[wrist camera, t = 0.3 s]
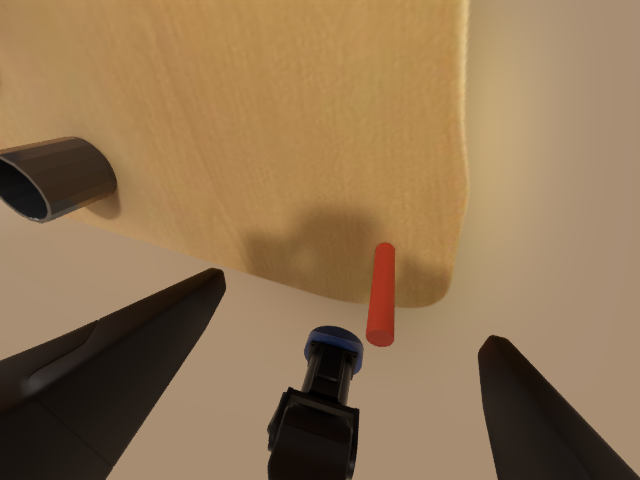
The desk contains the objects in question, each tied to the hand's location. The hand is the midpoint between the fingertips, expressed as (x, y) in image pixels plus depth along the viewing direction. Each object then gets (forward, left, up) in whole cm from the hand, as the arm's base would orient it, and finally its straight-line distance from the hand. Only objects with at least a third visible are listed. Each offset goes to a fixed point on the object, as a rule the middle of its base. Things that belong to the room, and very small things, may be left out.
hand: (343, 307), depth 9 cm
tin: (-4, +27, -13) cm, 31 cm away
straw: (-6, -2, -13) cm, 14 cm away
